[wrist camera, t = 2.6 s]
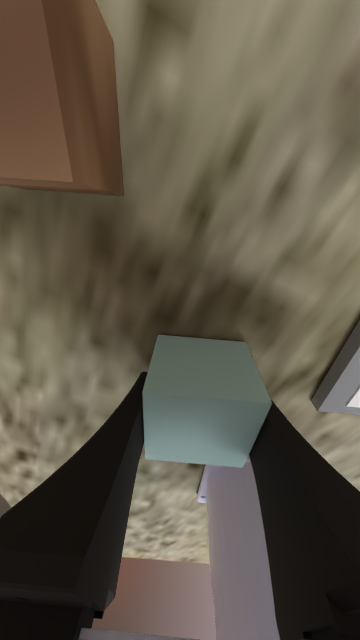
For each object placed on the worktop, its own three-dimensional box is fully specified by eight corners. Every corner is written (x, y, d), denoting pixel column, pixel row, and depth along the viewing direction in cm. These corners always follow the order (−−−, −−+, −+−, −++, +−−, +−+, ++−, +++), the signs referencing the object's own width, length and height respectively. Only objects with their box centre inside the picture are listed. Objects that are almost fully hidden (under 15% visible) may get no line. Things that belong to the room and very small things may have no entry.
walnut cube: (124, 195, 8) (72, 182, 4) (28, 189, 8) (-97, 170, 4) (114, 43, 6) (9, -192, 3) (-13, 35, 6) (-290, -207, 3)
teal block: (229, 401, 13) (242, 467, 10) (157, 394, 13) (145, 459, 10) (246, 342, 11) (272, 403, 7) (157, 334, 11) (142, 391, 7)
